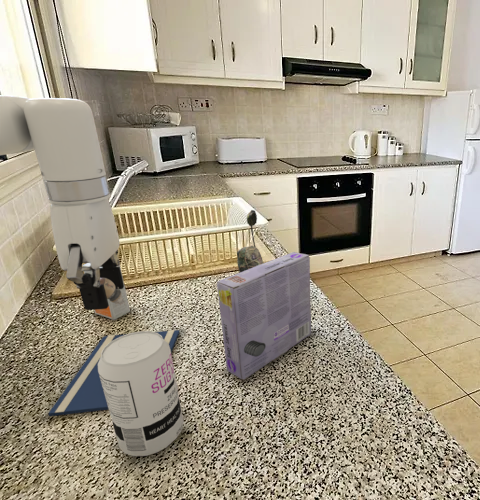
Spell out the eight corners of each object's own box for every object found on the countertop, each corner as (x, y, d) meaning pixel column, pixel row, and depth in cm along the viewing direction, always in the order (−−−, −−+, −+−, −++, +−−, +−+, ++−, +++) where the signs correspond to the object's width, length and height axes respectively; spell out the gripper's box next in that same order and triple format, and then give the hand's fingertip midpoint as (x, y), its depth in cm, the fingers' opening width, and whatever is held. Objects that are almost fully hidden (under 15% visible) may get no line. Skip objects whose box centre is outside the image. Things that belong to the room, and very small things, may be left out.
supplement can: (123, 422, 55) (100, 336, 49) (184, 406, 58) (169, 323, 52) (115, 468, 48) (88, 374, 42) (184, 447, 51) (167, 357, 46)
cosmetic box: (94, 314, 82) (81, 264, 77) (112, 305, 85) (100, 257, 81) (113, 320, 80) (101, 270, 75) (131, 311, 83) (120, 262, 79)
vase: (86, 317, 57) (76, 282, 55) (82, 303, 61) (73, 270, 59) (126, 307, 60) (118, 273, 58) (120, 294, 64) (113, 262, 62)
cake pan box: (298, 323, 80) (296, 247, 74) (316, 332, 78) (315, 253, 71) (224, 371, 66) (213, 281, 59) (243, 383, 63) (233, 290, 56)
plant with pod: (229, 293, 92) (220, 215, 85) (261, 277, 101) (256, 205, 94) (253, 302, 88) (246, 222, 81) (284, 284, 97) (281, 210, 90)
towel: (49, 416, 55) (47, 413, 55) (104, 338, 74) (103, 335, 73) (150, 404, 58) (149, 401, 58) (179, 332, 76) (179, 329, 76)
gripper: (78, 178, 62) (102, 277, 68) (11, 205, 46) (51, 329, 52) (127, 177, 63) (146, 274, 70) (79, 203, 47) (110, 325, 54)
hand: (105, 297), depth 61 cm, fingers closed on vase, 5 cm apart
